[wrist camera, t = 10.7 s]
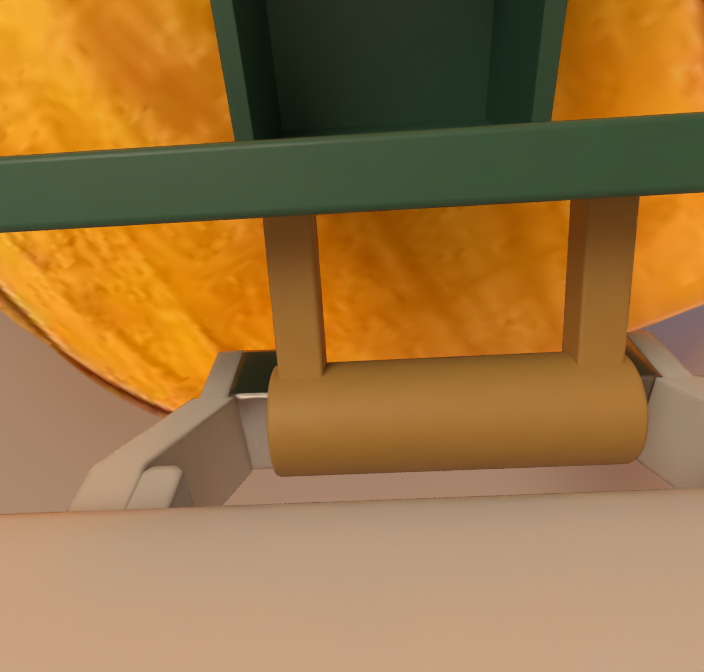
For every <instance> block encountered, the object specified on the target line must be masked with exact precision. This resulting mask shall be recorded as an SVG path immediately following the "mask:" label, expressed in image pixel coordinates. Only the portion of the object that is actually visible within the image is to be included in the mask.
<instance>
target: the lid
mask: <svg viewBox="0 0 704 672" xmlns="http://www.w3.org/2000/svg"><path fill="white" fill-rule="evenodd" d="M700 192H704V112H693V113H677V114H661V115H646V116H630V117H614V118H598V119H583V120H567V121H551V122H535V123H520V124H504V125H488V126H472V127H457V128H441V129H425V130H409V131H394V132H378V133H362V134H346V135H331V136H315V137H299V138H283V139H268V140H252V141H236V142H220V143H205V144H189V145H173V146H157V147H142V148H126V149H110V150H94V151H79V152H63V153H47V154H32V155H16V156H0V233H4V232H21V231H39V230H56V229H74V228H91V227H108V226H126V225H143V224H161V223H178V222H195V221H213V220H230V219H248V218H263V226H264V236H265V245H266V255H267V265H268V275H269V285H270V295H271V305H272V314H273V324H274V334H275V344H276V354H277V364H278V366H276V367H275V368H274V369H273V371H272V374H271V378H270V382H269V388H268V397H267V436H268V446H269V453H270V458H271V462H272V466H273V468H274V471H275V473H276V474H277V475H279V476H281V477H287V476H288V477H289V476H315V475H341V474H342V475H343V474H368V473H394V472H395V473H396V472H421V471H422V472H423V471H447V470H448V471H450V470H476V469H500V468H501V469H504V468H530V467H558V466H583V465H611V464H628V463H630V462H632V461H634V460H636V459H637V458H638V457H639V456H640V454H641V453H642V451H643V449H644V446H645V443H646V439H647V433H648V405H647V398H646V394H645V389H644V386H643V383H642V380H641V377H640V375H639V373H638V370H637V369H636V367H635V365H634V364H633V362H632V361H631V360H630V358H629V357H628V356H627V355H625V348H626V337H627V326H628V315H629V304H630V293H631V282H632V271H633V260H634V249H635V238H636V227H637V216H638V206H639V196H648V195H665V194H683V193H700ZM561 200H571V203H570V221H569V238H568V256H567V274H566V291H565V309H564V327H563V344H562V352H546V353H524V354H503V355H481V356H459V357H437V358H415V359H394V360H372V361H350V362H328V363H327V359H326V345H325V332H324V318H323V305H322V291H321V278H320V264H319V251H318V237H317V223H316V215H317V214H335V213H352V212H370V211H387V210H404V209H422V208H439V207H457V206H474V205H491V204H509V203H526V202H544V201H561Z"/></svg>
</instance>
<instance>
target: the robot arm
mask: <svg viewBox="0 0 704 672" xmlns="http://www.w3.org/2000/svg"><path fill="white" fill-rule="evenodd" d="M625 355H627V356H628V357H629V358H630V360H631V361H632V362H633V364H634V365H635V367H636V369H637V370H638V373H639V375H640V377H641V380H642V383H643V386H644V389H645V394H646V398H647V405H648V433H647V439H646V443H645V446H644V449H643V451H642V453H641V454H640V456H639V457H638V458H637V459H636V460H637V461H639V462H640V463H641V464H643V465H644V466H645V467H647V468H648V469H650V470H651V471H652V472H654V473H655V474H656V475H658V476H659V477H660V478H662V479H663V480H664V481H666V482H667V483H669V484H670V485H671V486H673V487H674V488H675V489H657V490H632V491H603V492H577V493H551V494H526V495H498V496H474V497H473V496H471V497H447V498H446V497H445V498H418V499H391V500H366V501H365V500H364V501H338V502H311V503H287V504H286V503H284V504H258V505H231V506H222V505H223V504H224V503H225V502H226V501H227V500H228V499H229V497H230V496H231V495H232V494H233V493H234V492H235V491H236V489H237V488H238V487H239V486H240V485H241V484H242V483H243V481H244V480H245V479H246V478H247V477H248V476H249V475H250V473H251V472H252V470H254V469H270V468H273V466H272V462H271V458H270V453H269V446H268V436H267V397H268V388H269V382H270V378H271V374H272V371H273V369H274V368H275V367H276V366H278V364H277V354H276V350H246V351H243V350H238V351H222V352H220V353H218V355H217V357H216V359H215V362H214V364H213V366H212V369H211V371H210V374H209V376H208V378H207V381H206V383H205V386H204V388H203V390H202V393H201V395H200V398H199V399H191V400H190V401H188V402H187V403H185V404H184V405H182V406H181V407H179V408H178V409H177V410H175V411H174V412H172V413H171V414H169V415H168V416H166V417H165V418H163V419H162V420H161V421H159V422H157V423H156V424H155V425H153V426H152V427H150V428H149V429H147V430H146V431H144V432H143V433H141V434H140V435H138V436H137V437H136V438H134V439H133V440H131V441H130V442H128V443H127V444H125V445H124V446H122V447H121V448H119V449H118V450H117V451H115V452H114V453H112V454H110V455H109V456H108V457H106V458H105V459H103V460H102V461H100V462H99V463H97V464H96V465H94V466H93V467H92V468H91V470H90V472H89V473H88V475H87V477H86V479H85V480H84V482H83V484H82V485H81V487H80V489H79V490H78V492H77V494H76V495H75V497H74V499H73V501H72V502H71V504H70V505H69V507H68V509H67V511H66V512H46V513H18V514H0V672H704V377H703V376H693V375H692V374H691V373H690V372H689V371H688V370H687V369H686V368H685V367H684V366H683V365H682V364H681V363H680V362H679V361H678V359H677V358H676V357H675V356H674V355H673V354H672V353H671V352H670V351H669V350H668V349H667V348H666V347H665V346H664V345H663V344H662V343H661V342H660V341H659V340H658V339H657V338H656V336H655V335H654V334H653V333H651V332H649V331H646V330H643V331H631V332H627V337H626V348H625Z"/></svg>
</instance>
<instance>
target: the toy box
mask: <svg viewBox="0 0 704 672" xmlns="http://www.w3.org/2000/svg"><path fill="white" fill-rule="evenodd" d="M210 2H211V8H212V13H213V19H214V25H215V30H216V36H217V42H218V47H219V53H220V59H221V64H222V70H223V76H224V81H225V87H226V93H227V99H228V104H229V110H230V116H231V121H232V127H233V133H234V138H235V142H236V141H252V140H268V139H283V138H299V137H315V136H331V135H346V134H362V133H378V132H394V131H409V130H425V129H441V128H457V127H472V126H488V125H504V124H520V123H535V122H551V117H552V110H553V102H554V95H555V88H556V80H557V73H558V66H559V58H560V51H561V44H562V37H563V29H564V22H565V15H566V7H567V0H210Z"/></svg>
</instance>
